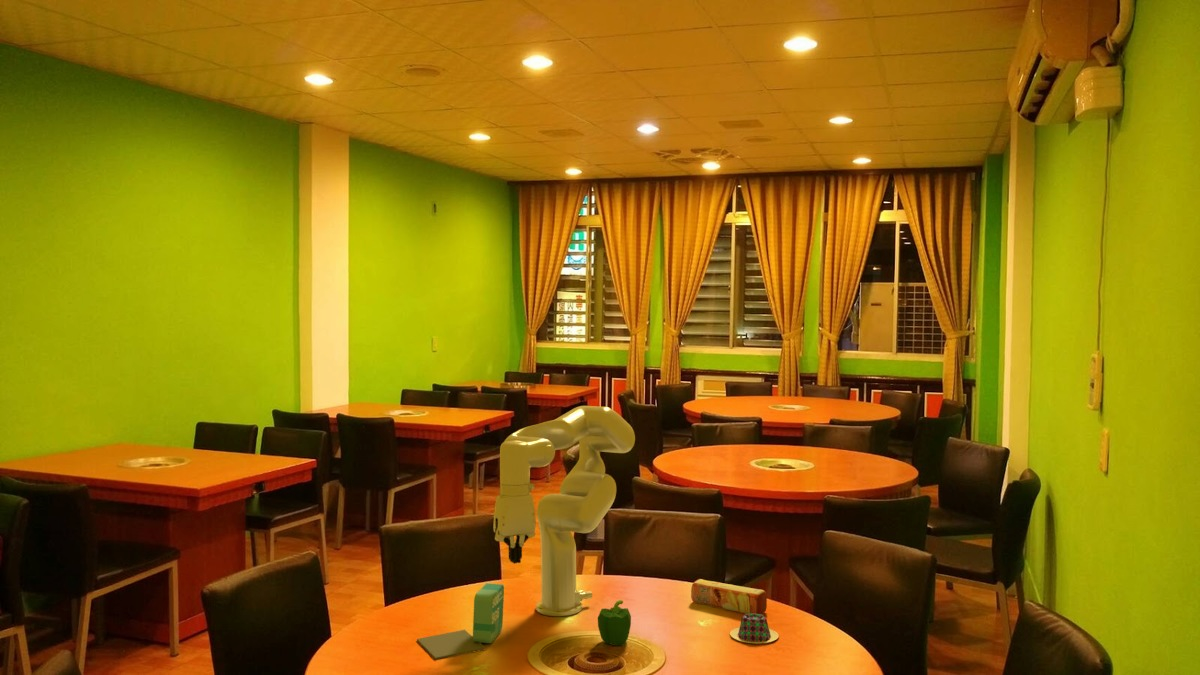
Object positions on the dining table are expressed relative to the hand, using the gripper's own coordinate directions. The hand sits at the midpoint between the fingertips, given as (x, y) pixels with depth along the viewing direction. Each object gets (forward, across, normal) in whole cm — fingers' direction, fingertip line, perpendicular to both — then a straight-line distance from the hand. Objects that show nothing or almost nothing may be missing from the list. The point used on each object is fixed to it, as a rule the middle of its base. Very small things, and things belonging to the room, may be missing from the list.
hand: (515, 561), depth 227 cm
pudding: (+18, -51, +33) cm, 63 cm away
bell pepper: (+18, -19, +19) cm, 32 cm away
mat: (+18, +17, 0) cm, 25 cm away
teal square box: (+18, +7, 0) cm, 20 cm away
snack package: (+18, -58, +12) cm, 62 cm away
